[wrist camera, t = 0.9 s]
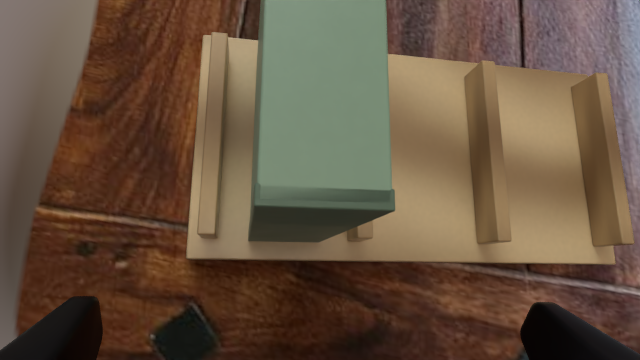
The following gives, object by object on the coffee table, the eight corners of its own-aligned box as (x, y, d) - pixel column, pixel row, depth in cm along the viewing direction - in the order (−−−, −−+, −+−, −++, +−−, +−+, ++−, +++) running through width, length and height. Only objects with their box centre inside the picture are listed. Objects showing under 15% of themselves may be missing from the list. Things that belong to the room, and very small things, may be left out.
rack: (605, 264, 25) (649, 263, 22) (187, 259, 21) (179, 257, 18) (578, 79, 27) (614, 58, 25) (204, 42, 23) (199, 11, 21)
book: (319, 242, 21) (396, 211, 11) (247, 241, 20) (253, 206, 10) (320, 62, 23) (384, -113, 13) (256, 56, 23) (268, -133, 12)
